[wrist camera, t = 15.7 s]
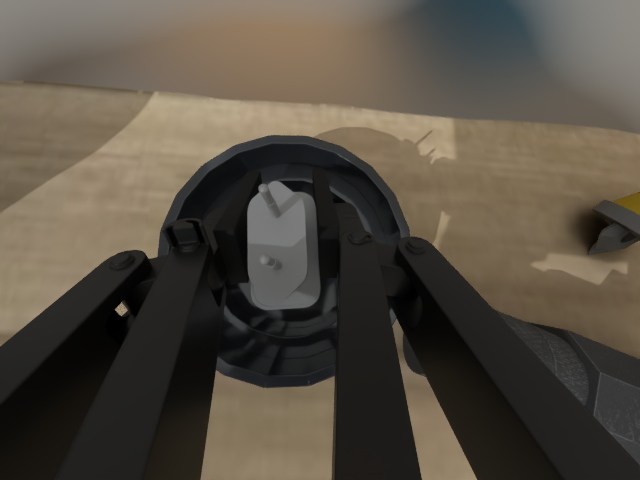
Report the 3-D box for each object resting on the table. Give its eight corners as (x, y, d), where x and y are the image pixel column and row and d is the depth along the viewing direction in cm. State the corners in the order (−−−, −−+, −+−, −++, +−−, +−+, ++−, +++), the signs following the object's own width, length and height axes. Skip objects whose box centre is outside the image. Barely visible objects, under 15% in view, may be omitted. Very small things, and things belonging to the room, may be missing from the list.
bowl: (174, 320, 17) (110, 340, 11) (241, 155, 19) (214, 107, 14) (355, 376, 17) (377, 423, 11) (399, 203, 19) (434, 174, 14)
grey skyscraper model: (312, 225, 18) (319, 123, 6) (316, 294, 17) (332, 331, 5) (273, 227, 18) (202, 126, 6) (275, 297, 17) (195, 341, 5)
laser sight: (423, 261, 18) (553, 241, 9) (685, 367, 18) (1136, 474, 8) (384, 382, 17) (492, 529, 7) (672, 503, 16) (1223, 843, 6)
